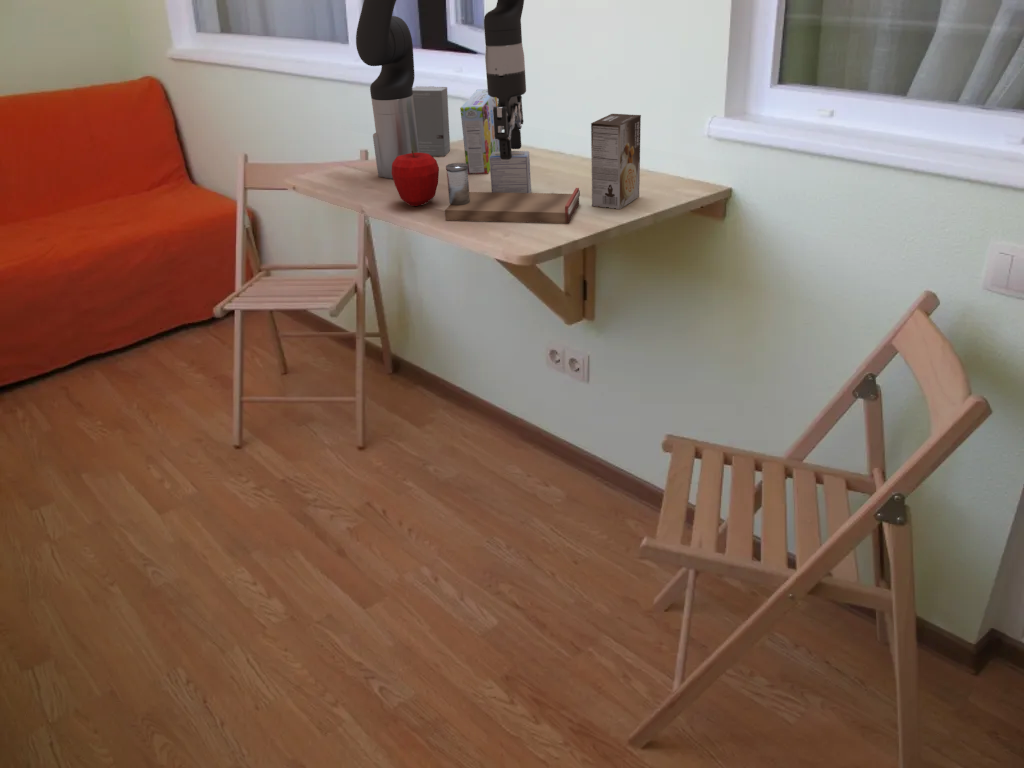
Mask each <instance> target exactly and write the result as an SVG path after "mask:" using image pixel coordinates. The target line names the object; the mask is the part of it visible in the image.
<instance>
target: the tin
mask: <svg viewBox="0 0 1024 768" xmlns="http://www.w3.org/2000/svg"><path fill="white" fill-rule="evenodd" d="M467 169H468V165H467V164H466V162H452V163H448V164H447V165H445V171H446V179H447V188H448V201H449V205H450V204H451V205H465V204H468V203H470V196H469V192H470V185H469V174H468V171H467Z"/></svg>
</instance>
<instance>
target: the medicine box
mask: <svg viewBox="0 0 1024 768" xmlns="http://www.w3.org/2000/svg"><path fill="white" fill-rule="evenodd" d="M511 151H512V158H511V159H509V160H502V159H501V158H500V152H492V154H491V155H490V157H489V161H490V171H489V172H490V175H489V176H490V185H491V187H490V188H491V192H498V193H532V183H531V181H532V180H531V163H530V161H531V159H530V150H511Z"/></svg>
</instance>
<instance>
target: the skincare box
mask: <svg viewBox="0 0 1024 768" xmlns="http://www.w3.org/2000/svg"><path fill="white" fill-rule="evenodd" d="M412 91H413V100H414V109H415V118H416V128H417V137H418V146H419V153H427V154H429V155H431V156H432V157H445V156H446V155H448V153H450V152H451V141H450V140H451V138H450V121H449V102H448V101H449V100H448V98H449V97H448V95H449V94H448V87H447V86H434V85H433V86H431V85H430V86H420V85H419V86H415V87H412Z"/></svg>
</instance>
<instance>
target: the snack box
mask: <svg viewBox="0 0 1024 768" xmlns="http://www.w3.org/2000/svg"><path fill="white" fill-rule="evenodd" d="M497 106H498V98H497V97H491V96H489V95H488V88H484V89H483V88H482V89H481V88H480V89H476V91H474V93H473V94H471V95H470V97H468V99H467V100H466V101H465V102H464V103H463V104H462V105H461V106H460V107H459V108H460V109H459V110H460V118H461V119H460V120H461V126H462V127H461V128H462V137H463V147H464V156H465V163H466V164H467V165H468V169H467V171H468V175H472V174H471V173H474V174H473V175H477V174H478V175H479V174H480V175H481V174H482V175H483V174H485V175H486V174H487V175H488V174H489V172H490V161H489V157H490V155H491V154H492V152H500V147H499V140H498V139H495V136H494V135H495V132H494V115H493V107H497ZM475 173H476V174H475Z"/></svg>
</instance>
